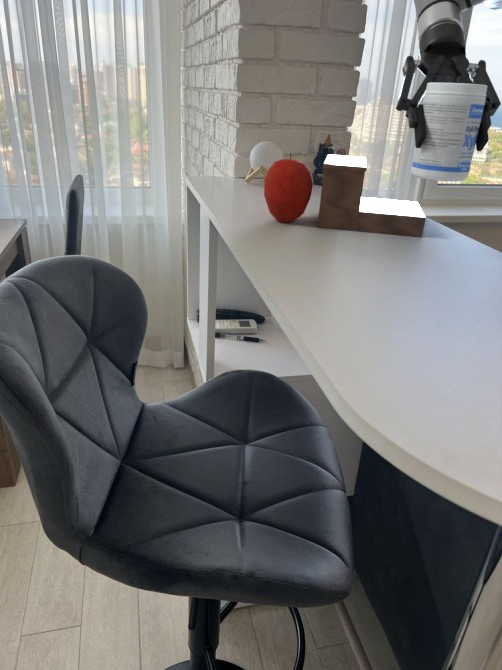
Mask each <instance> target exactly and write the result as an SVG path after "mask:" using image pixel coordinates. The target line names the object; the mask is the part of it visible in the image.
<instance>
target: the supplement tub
mask: <svg viewBox="0 0 502 670" xmlns="http://www.w3.org/2000/svg"><path fill="white" fill-rule="evenodd" d="M486 91H487V85H480V84H465V83H428V84H427V88H426V92H425V95H424V97H423V99H422V100H423V101H422V104H423V108H424V119H425V131H426V138H425V140H424V142H423V144H422V146H421V147H420V148H416V146H414V151H413V157H412V163H411V170H410V173H411V174H412V176H413V177H416V178H418V179H420V180H421V179H422V180H429V181H438V182H453V183H455V182H463V181H465V180H466V179H468V177H469V174H470V170H471V166H472V162H473V157H474V152H475V148H476V139H477V135H478V131H479V126H480V122H481V117H482V113H483V109H484V104H485V100H486V98H485V97H486Z"/></svg>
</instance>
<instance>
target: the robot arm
mask: <svg viewBox="0 0 502 670" xmlns="http://www.w3.org/2000/svg"><path fill="white" fill-rule="evenodd" d="M413 1H414V2H413V3H414V8H415V9H414V10H415V16H416V25H417V26H416V27H417V40H418V53H419V54H418V55H419V59H415V58H414V57H413V56H412V55H408V56H407V57H406V59H405V62H404V64H403V67H402V75H403V79H402V83H401V87H400V90H399V94H398V97H397V98H398V99H397V102H396V105H395V110H396V111H398V112H402V111H404V112H405V113H404V115H405V116H404V117H406V118H407V119H408V120H407V121H408V127H409V129H413V131H414V144H415V146H416V148H420V147H421V146H422V144H423V142H424V140H425V138H426V131H425V119H424V108H423V103H421V102H422V100H423V99H424V95H425V92H426V88H427V84H428V83H465V84H480V85H487V91H486V97H485V98H486V100H485V104H484V109H483V113H482V117H481V122H480V126H479V131H478V135H477V139H476V144H475V148H476V149H475V150H476V152H482V151H483V149H484V148H485V146H486V145H487V144H488V143H489V141H490V138H489V129H490V128H491V126H492V117H493V116H494V115H495V113H497V111H498V110H499V108H500V106H501V104H502V102H501V100H500V97H499V96H498V93H497V91H496V89H495V87H494V84H493V83H492V81H491V78H490V75H489V74H488V72H487V62H486V60H485V59H480V60H478V62H477V63H473V62H470V60H469V59H468V58H467V56H466V52H467V51H466V50H467V49H466V41H465V33H464V24H463V23H464V22H463V16H462V13H463V12H465V11H467V10H470V9H472V8H474V7H476V6H478V5H480V4H483V5H484V6H485V7H487V8H488V9H490V10H495V11H500V10H501V11H502V0H413ZM417 71H419V72H420V73H421V74H422V75H423V76H424V78H423V81H422V82H421V84H420V86H419V87H418V89H416V91H415V93H414V95H413V96H412V98H409V94H410V91H411V86H412V82H413V78H414V75H415V74H416V72H417ZM415 146H414V147H415Z"/></svg>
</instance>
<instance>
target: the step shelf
mask: <svg viewBox="0 0 502 670" xmlns="http://www.w3.org/2000/svg"><path fill="white" fill-rule="evenodd" d="M367 166H368V165H367V157H365V156H352V155H341V154H327V155H326V158H325V160H324V161H323V164H322V169H323V172H322V180H321V182H322V183H321V191H320V199H319V210H318V218H317V228H321V229H331V230H343V231H352V232H363V233H371V234H372V233H373V234H383V235H393V236H403V237H414V238H423V235H424V229H425V223H426V219H427V218H426V215H425V213H424V212H423V210H422V207H421V205H420V204H419V202H418V201H415V200H414V201H413V200H411V201H410V200H400V199H390V198H377V197H368V196H367V197H365V196H363V188H364V183H365V182H364V181H365V175H366V172H367V170H368V169H367V168H368V167H367Z"/></svg>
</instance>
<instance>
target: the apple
mask: <svg viewBox="0 0 502 670" xmlns="http://www.w3.org/2000/svg"><path fill="white" fill-rule="evenodd" d="M263 181H264V182H263V185H264V186H263V188H264V189H263V197H264V199H265V202H266V205H267V208H268V212H269V214H271V216H272V217H273V219H274V220H276V221H277V222H278V223H284V224H288V223H292V222H295V221H296V220H298V219H299V218H300V217H302V216H303V215H304V213H305V212H306V209H307V207H308V205H309V202H310V200H311V198H312V193H313V188H314V184H315V183H314V178H313V175H312V171H311V169H310V168H309V166H308V165H307V164H306V163H305V162H303V161H301V160H299V159H294V158H292V152H289V158H282V159H279V160H276V161H274V162H273V163H272V164H271V165H270V167H269V168H268V169H267V172H266V175H265V178H264V179H263Z"/></svg>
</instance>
